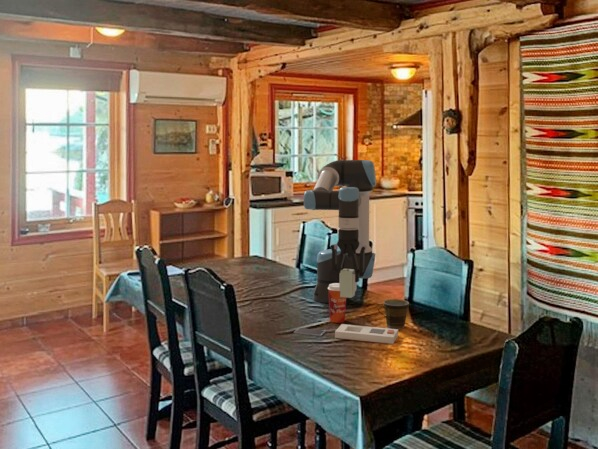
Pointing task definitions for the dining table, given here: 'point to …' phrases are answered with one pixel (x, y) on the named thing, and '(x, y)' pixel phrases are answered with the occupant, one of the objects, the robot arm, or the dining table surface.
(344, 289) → the block
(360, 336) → the power strip
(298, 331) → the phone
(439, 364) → the dining table surface
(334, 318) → the coffee cup
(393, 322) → the ceramic cup
